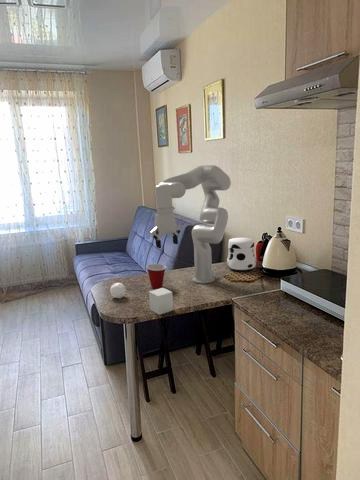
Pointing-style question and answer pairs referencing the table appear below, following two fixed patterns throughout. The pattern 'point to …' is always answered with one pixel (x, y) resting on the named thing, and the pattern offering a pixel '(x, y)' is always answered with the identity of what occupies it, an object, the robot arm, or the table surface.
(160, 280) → the plastic cup
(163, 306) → the white angular block
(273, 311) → the table surface
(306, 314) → the table surface
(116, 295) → the geometric ball
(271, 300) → the table surface
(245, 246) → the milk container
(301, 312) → the table surface
